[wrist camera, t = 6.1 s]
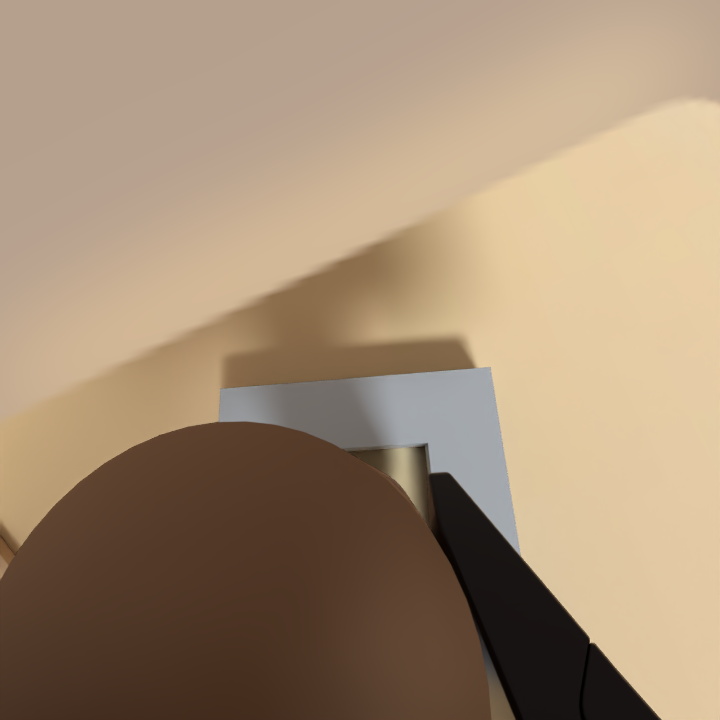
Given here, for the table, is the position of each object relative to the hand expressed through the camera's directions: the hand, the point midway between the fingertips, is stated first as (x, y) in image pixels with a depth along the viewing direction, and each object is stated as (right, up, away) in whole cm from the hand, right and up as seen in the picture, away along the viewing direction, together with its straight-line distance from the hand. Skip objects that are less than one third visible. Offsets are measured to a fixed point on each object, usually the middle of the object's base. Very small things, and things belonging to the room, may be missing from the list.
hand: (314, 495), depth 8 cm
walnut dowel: (+1, -4, +8) cm, 9 cm away
